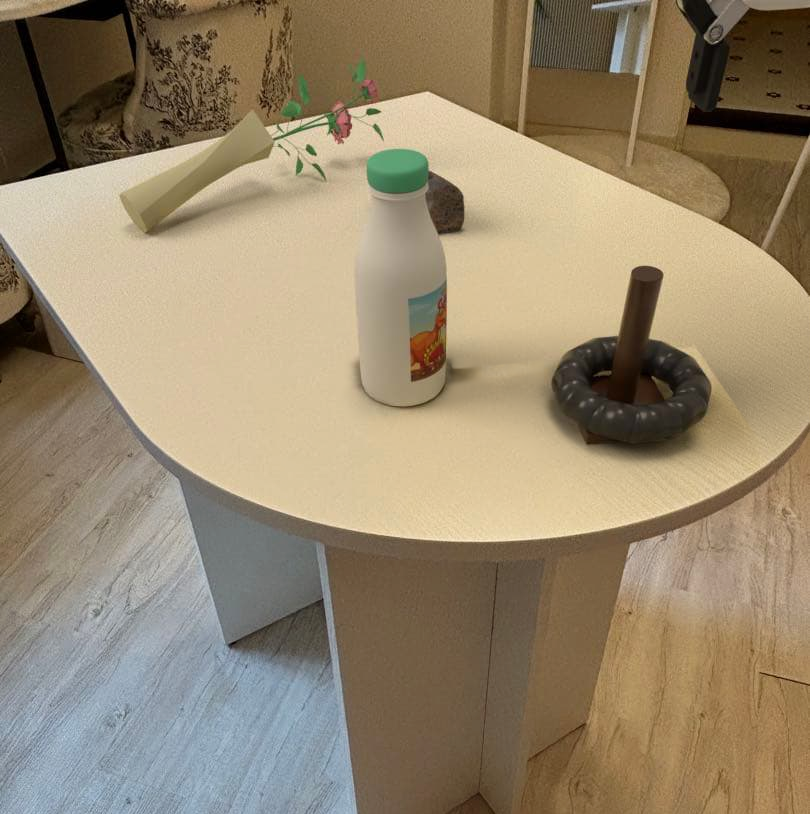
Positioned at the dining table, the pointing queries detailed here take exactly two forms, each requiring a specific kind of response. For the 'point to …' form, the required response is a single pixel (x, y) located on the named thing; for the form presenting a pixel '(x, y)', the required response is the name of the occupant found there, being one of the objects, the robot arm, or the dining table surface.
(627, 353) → the holder
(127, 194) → the flower vase
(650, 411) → the ring
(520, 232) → the dining table surface
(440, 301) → the milk bottle
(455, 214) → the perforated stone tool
